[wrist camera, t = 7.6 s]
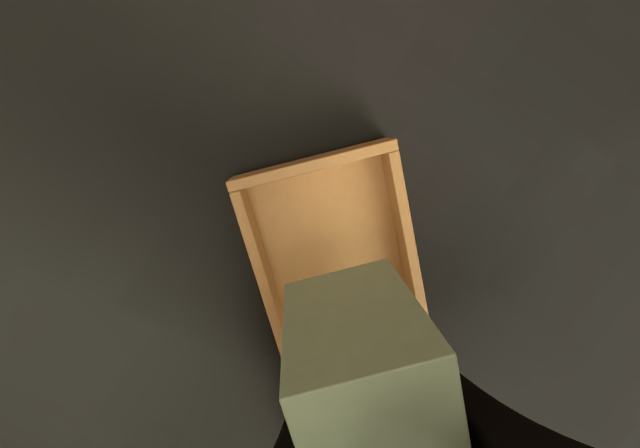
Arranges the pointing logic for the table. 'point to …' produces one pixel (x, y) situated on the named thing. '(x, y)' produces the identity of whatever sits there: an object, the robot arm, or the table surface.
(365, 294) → the pale green tall box
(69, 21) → the table surface
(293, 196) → the tray
